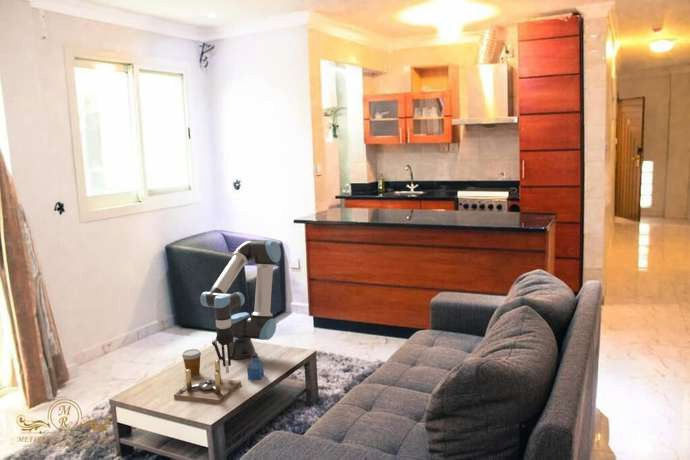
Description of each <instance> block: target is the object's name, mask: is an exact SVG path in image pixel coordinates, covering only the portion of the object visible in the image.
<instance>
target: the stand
mask: <svg viewBox="0 0 690 460" xmlns="http://www.w3.org/2000/svg"><path fill="white" fill-rule="evenodd" d="M213 378H214V377H209V376H201V375H200V376H199V375H197V376H195V378H193V379H191V381H192V385H196V384H199V383H200V382H202V381H204V380H208V379H213ZM220 385H221V393H219V394H216V392H215V391H213V390H211V391H202V390H200V389H192V390H187V384H185V385H184V386H183V387H182V388H179V390H177V391H176V392H175V393H174V394H173V399H176V400H183V401H190V402H191V401H192V402H200V403H209V404H214V405H220V404H221V403H223V402H224V401H225V400H226V399H227V398H228V397H229V396H230V395H231V394H232V393H234V391H236V390H237V389H238V388H239V387H240V386H241V385H242V381H241V380H237V379H228V378H221V379H220Z"/></svg>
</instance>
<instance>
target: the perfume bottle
mask: <svg viewBox="0 0 690 460" xmlns="http://www.w3.org/2000/svg"><path fill="white" fill-rule="evenodd" d="M250 358H251V361H250V362H249V364H248V366H247V368H246V369H247V379H248V380H251V381H260V380H262V379H263V377H264V376H265V371H264V362H262V360H261V359H259V355H258V353H255V354H252V356H251V357H250Z"/></svg>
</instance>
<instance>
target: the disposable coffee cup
mask: <svg viewBox="0 0 690 460" xmlns="http://www.w3.org/2000/svg"><path fill="white" fill-rule="evenodd" d="M201 356H202V353H201V350H199V349H197V348H194V349H193V348H192V349H187V350H184V351H183V352H182V355H181V358H182V359H183V364H184V367H185V370H187V369H190V370H191V378H192V377H193V378H194V377H198V376H199V375H200V374H201V373H200V372H201V371H200V369H201Z"/></svg>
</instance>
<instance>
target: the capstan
mask: <svg viewBox="0 0 690 460" xmlns="http://www.w3.org/2000/svg"><path fill="white" fill-rule="evenodd" d="M220 361H221V360H219V359H215V360H214V370H215V372H214V377H212V378H213V379H208V380H204V381H202V382H200V383H199V384H196V385H192V377H191V370H190V369H187V370H186V369H185V382H186V384H185V385H187V390H192V389H200V390H202V391H211V390H213V391H215V392H216V394H219V393H221V385H220V379H222V375H221V373H222V372H221V364H220V363H221V362H220Z"/></svg>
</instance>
